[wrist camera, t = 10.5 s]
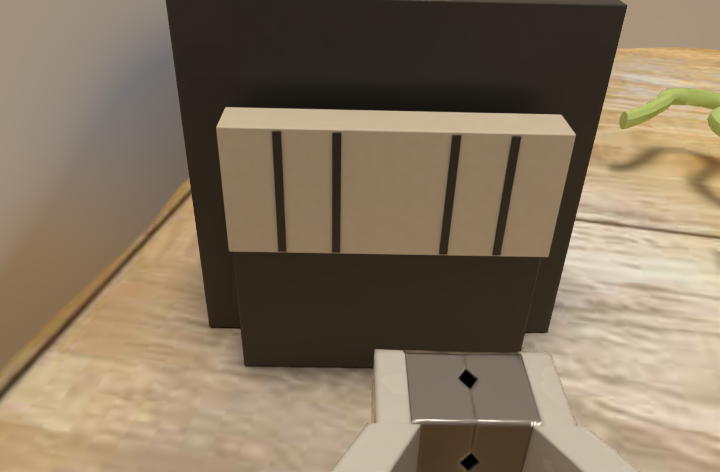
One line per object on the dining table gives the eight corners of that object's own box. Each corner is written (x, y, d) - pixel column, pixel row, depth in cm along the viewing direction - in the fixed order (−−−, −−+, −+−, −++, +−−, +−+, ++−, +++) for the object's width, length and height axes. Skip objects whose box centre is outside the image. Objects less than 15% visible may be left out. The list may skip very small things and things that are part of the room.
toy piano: (562, 370, 28) (657, 23, 20) (198, 365, 28) (143, 11, 20) (519, 256, 35) (575, -30, 27) (231, 251, 35) (201, -40, 27)
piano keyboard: (549, 258, 24) (577, 135, 21) (228, 252, 24) (215, 127, 21) (537, 232, 25) (561, 114, 23) (236, 226, 25) (224, 106, 23)
